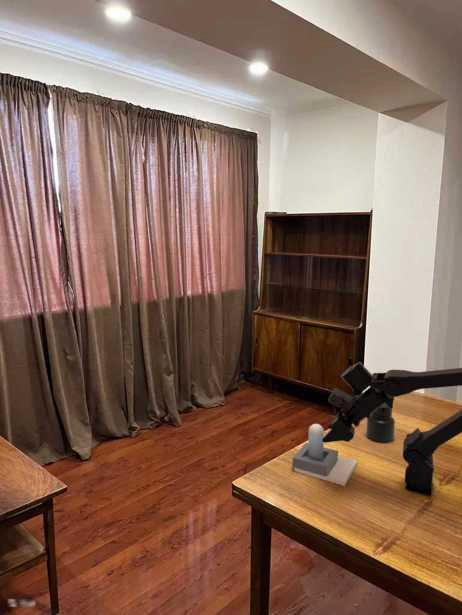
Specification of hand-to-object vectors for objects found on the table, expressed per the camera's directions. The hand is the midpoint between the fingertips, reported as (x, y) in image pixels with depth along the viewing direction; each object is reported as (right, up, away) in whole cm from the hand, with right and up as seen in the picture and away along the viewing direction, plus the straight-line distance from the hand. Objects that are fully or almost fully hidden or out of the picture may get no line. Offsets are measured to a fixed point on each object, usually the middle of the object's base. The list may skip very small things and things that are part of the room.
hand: (326, 434), depth 129 cm
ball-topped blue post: (-3, -10, +3) cm, 10 cm away
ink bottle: (+23, -7, +21) cm, 32 cm away
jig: (+1, -11, +2) cm, 11 cm away
